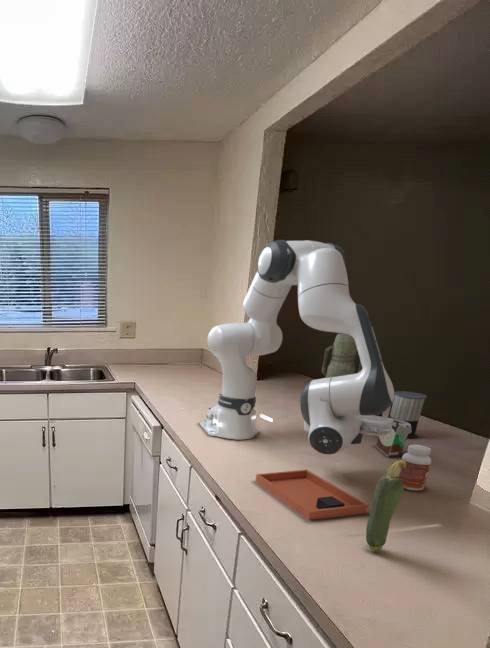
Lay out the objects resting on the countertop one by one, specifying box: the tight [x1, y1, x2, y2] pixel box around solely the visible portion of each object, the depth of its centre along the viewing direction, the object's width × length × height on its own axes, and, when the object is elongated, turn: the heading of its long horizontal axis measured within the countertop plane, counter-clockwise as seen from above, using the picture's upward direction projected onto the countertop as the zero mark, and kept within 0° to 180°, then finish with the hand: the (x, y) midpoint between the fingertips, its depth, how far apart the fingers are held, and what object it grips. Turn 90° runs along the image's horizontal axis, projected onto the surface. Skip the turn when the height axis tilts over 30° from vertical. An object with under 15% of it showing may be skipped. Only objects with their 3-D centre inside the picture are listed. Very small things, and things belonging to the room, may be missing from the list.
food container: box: [375, 418, 412, 458], centre depth 137 cm, size 12×6×10 cm, turn 168°
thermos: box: [321, 333, 362, 378], centre depth 156 cm, size 9×12×35 cm
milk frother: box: [375, 390, 428, 439], centre depth 152 cm, size 14×16×15 cm
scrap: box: [316, 496, 345, 509], centre depth 102 cm, size 4×4×2 cm
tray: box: [255, 469, 370, 521], centre depth 109 cm, size 21×15×2 cm
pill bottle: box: [397, 444, 432, 491], centre depth 113 cm, size 6×6×11 cm
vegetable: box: [365, 459, 407, 553], centre depth 85 cm, size 4×4×20 cm
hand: (352, 413), depth 121 cm, fingers closed on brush, 3 cm apart
